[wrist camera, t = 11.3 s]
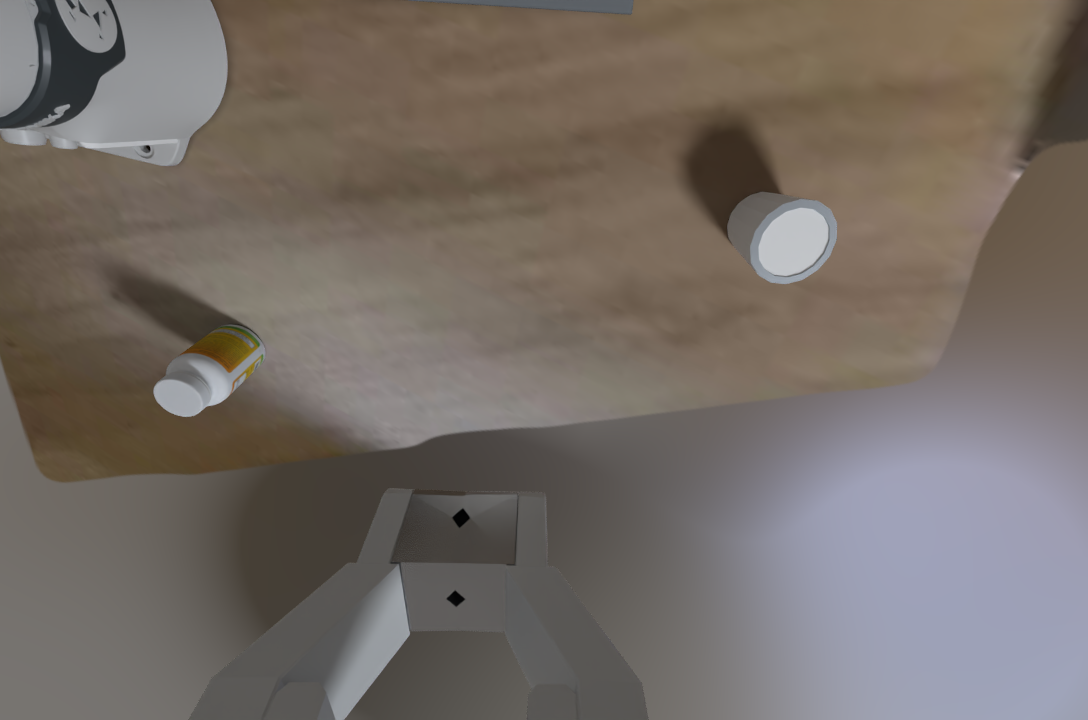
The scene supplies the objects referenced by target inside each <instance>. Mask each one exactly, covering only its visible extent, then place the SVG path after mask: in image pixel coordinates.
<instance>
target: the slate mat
mask: <svg viewBox="0 0 1088 720" xmlns="http://www.w3.org/2000/svg"><path fill="white" fill-rule="evenodd" d="M410 1H426V2H441V3H457V4H473V5H489V6H504V7H520V8H536V9H552V10H567V11H583V12H599V13H615V14H630V15H631V14H632V8H633V0H410Z"/></svg>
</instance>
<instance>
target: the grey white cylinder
mask: <svg viewBox="0 0 1088 720" xmlns="http://www.w3.org/2000/svg"><path fill="white" fill-rule="evenodd" d="M727 231H728V238H729V240H730V241H731V243H732V245H733V246H734V248H735V249H736V250H737V251H738V252H739V253H740V254H741V256H742V257H743V258H744V259H745V260H746V261H747V263H748V264H749V265H750V266H751V267H752V268H753V270H754V271H755V272H756V273H757V274H758V275H759V276H761V277H762V278H764V279H766V280H767V281H769V282H771V283H781V284H788V283H792V282H796V281H799V280H803V279H804V278H806V277H807V276H809V275H811V274H812V273H814V272H815V271H817V270H818V269H819V268H820V267H821V266H822V264H823V263H824V262H825V261H826V260H827V259H828V257H829V256H830V254H831V252H832V249H833V247H834V245H835V242H836V240H837V222H836V220H835V218H834V216H833V214H832V212H831V210H830V209H829V208H827V207H826V206H825V205H823V204H822V203H820V202H819V201H815V200H810V199H804V198H799V197H793V196H788V195H782V194H776V193H769V192H759V193H755V194H752V195H749V196H748V197H746V198H745V199H744V200H742V201H741V202H739V203H738V204H737V206H736V207H735V209H734V210H733V211H732V213H731V214H730V218H729V221H728V224H727Z"/></svg>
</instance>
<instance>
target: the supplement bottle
mask: <svg viewBox="0 0 1088 720" xmlns="http://www.w3.org/2000/svg"><path fill="white" fill-rule="evenodd" d="M264 358H265V348H264V345H263V343H262V342H261V340H260V339H259V338H258V337H257V335H255V334H254V333H253V332H252V331H250V330H249V329H247V328H245V327H242V326H239V325H232V324H228V325H223V326H220V327H218V328H216V329H215V330H213V331H212V332H211V333H209V334H208V335H207V336H205V337H204V338H202V339H201V340H200V341H198V342H197V343H196V344H194V345H193V346H191V347H190V348H189V349H187V350H186V351H185V352H183V353H182V354H180V355H179V356H178V357H176V358H175V359H174V360H173V361H172V362H171V363H170V364H169V366H168V367H167V371H166V376H165V377H163V378H162V379H161V380H160V381H159V382H157V383H156V385H155V387H154V396H155V399H156V400H157V402H158V403H159V404H160V405H161V406H162V407H163V408H164V409H165V410H167V411H169V412H170V413H173V414H175V415H178V416H184V417H188V416H194V415H196V414H198V413H199V412H200V411H202V410H203V409H204V408H205V407H206V406H211V405H215V404H218V403H220V402H222V401H223V400H225V399H226V398H227V397H228V396H229V395H230V394H231V393H232V392H233V391H234V390H235V389H236V388H237V387H238V386H239V385H240V384H241V383H243V382H244V381H245V380H246V379H247V378H248V377H249V376H250V375H251V374H252V373H253V372H254V371H255V370H256V369H257V368H258V367H259V366H260V365H261V364H262V362H263V360H264Z"/></svg>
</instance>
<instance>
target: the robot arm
mask: <svg viewBox="0 0 1088 720" xmlns="http://www.w3.org/2000/svg"><path fill="white" fill-rule="evenodd" d="M226 81H227V52H226V45H225V41H224V36H223V32H222V29H221V26H220V22H219V20H218V17H217V14H216V12H215V10H214V7H213V5H212V3H211V1H210V0H0V135H1V138H3V139H4V141H6V142H9V143H14V144H22V145H45V144H46V142H47V140H46V138H47V139H50V142H51V145H52V146H54V147H57V148H64V149H76V148H78V146H81V147H85V148H89V149H93V150H97V151H102V152H106V153H110V154H114V155H118V156H123V157H127V158H131V159H135V160H139V161H143V162H148V163H152V164H156V165H160V166H175V165H177V164H179V163H180V162H181V160H182V159H183V157H184V154H185V152H186V149H187V146H188V142H189V139H190V137H191V136H192V134H193V133H194V132H195V131H196V130H198V129H199V128H200V127H201V126H202V125H204V124H205V123H206V122H207V121H208V120H209V119H210V118H211V117H212V115H213V114H214V113H215V111H216V110H217V108H218V106H219V104H220V102H221V100H222V97H223V94H224V91H225V86H226ZM146 145H149V146H150V148H151V151H149V150H148V149H147V148H146ZM546 518H547V517H546V495H545V493H544V492H519V495H518V492H495V491H492V492H491V491H467V492H465V491H443V490H423V489H422V490H421V489H415V490H412V489H392V488H389V489H387V491H386V492H385V493H384V494H383V496H382V499H381V501H380V504H379V506H378V509H377V512H376V514H375V517H374V519H373V522H372V525H371V527H370V530H369V532H368V535H367V538H366V540H365V543H364V545H363V548H362V550H361V553H360V555H359V558H358V561H357V563H347V564H346V565H345V566H344V567H343V568H342V569H340V570H339V571H338V572H337V573H336V574H334V575H333V576H332V577H331V578H330V579H329V580H327V581H326V582H325V583H324V584H323V585H322V586H320V587H319V588H318V589H317V590H315V591H314V592H313V593H312V594H311V595H310V596H308V597H307V598H306V599H305V600H304V601H302V602H301V603H300V604H299V605H298V606H297V607H295V608H294V609H293V610H292V611H291V612H290V613H288V614H287V615H286V616H285V617H284V618H283V619H281V620H280V621H279V622H278V623H277V624H275V625H274V626H273V627H272V628H271V629H270V630H268V631H267V632H266V633H265V634H263V635H262V636H261V637H260V638H259V639H258V640H256V641H255V642H254V643H253V644H252V645H250V646H249V647H248V648H247V649H246V650H244V651H243V652H242V653H241V654H240V655H239V656H237V657H236V658H235V659H234V660H233V661H232V662H230V663H229V664H228V665H227V666H226V667H224V668H223V669H222V670H221V671H220V672H218V673H217V674H216V675H215V676H214V677H213V678H212V679H211V681H210V682H209V684H208V686H207V688H206V689H205V691H204V693H203V695H202V697H201V698H200V700H199V702H198V704H197V706H196V707H195V709H194V711H193V713H192V714H191V716H190V718H189V720H344V719H345V718H346V716H347V715H348V714H349V712H350V711H351V710H352V708H353V707H354V706H355V705H356V703H357V702H358V701H359V700H360V698H361V697H362V696H363V694H364V693H365V691H366V690H367V689H368V688H369V687H370V685H371V684H372V683H373V681H374V680H375V679H376V677H377V676H378V675H379V674H380V672H381V671H382V670H383V669H384V667H385V666H386V665H387V663H388V662H389V661H390V659H391V658H392V657H393V656H394V654H395V653H396V652H397V650H398V649H399V648H400V647H401V645H402V644H403V642H404V641H405V640H406V639H407V638H408V636H409V635H410V632H409V631H451V630H461V631H484V632H505V636H506V638H507V640H508V642H509V644H510V646H511V648H512V650H513V652H514V654H515V656H516V658H517V660H518V662H519V664H520V667H521V669H522V671H523V673H524V675H525V677H526V679H527V681H528V683H529V685H530V687H531V689H532V691H531V692H530V693H529V694H528V706H527V720H648V715H647V708H646V703H645V697H644V692H643V686H642V682H641V681H640V680H639V678H638V677H637V676H636V674H635V673H634V672H633V670H632V669H631V668H630V666H629V665H628V663H627V662H626V661H625V659H624V658H623V657H622V656H621V654H620V653H619V651H618V650H617V649H616V647H615V646H614V644H613V643H612V642H611V640H610V639H609V638H608V636H607V635H606V634H605V632H604V631H603V630H602V628H601V627H600V626H599V624H598V623H597V622H596V620H595V619H594V618H593V616H592V615H591V613H590V612H589V611H588V609H587V608H586V607H585V605H584V604H583V603H582V601H581V600H580V599H579V597H578V596H577V594H576V593H575V592H574V590H573V589H572V588H571V586H570V585H569V584H568V582H567V581H566V579H565V578H564V577H563V575H562V574H561V573H560V572H559V570H558V569H557V567H552V566H551V567H550V566H548V556H547V522H546V521H547V519H546Z"/></svg>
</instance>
